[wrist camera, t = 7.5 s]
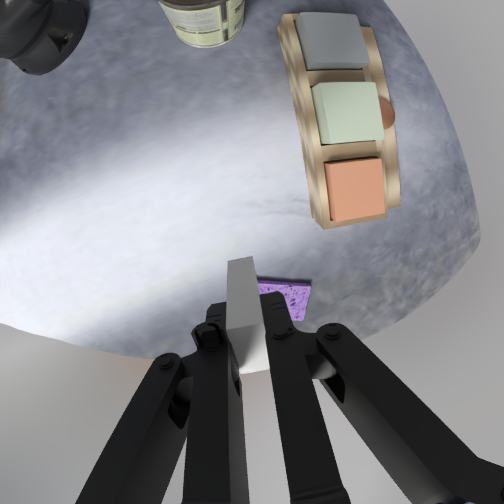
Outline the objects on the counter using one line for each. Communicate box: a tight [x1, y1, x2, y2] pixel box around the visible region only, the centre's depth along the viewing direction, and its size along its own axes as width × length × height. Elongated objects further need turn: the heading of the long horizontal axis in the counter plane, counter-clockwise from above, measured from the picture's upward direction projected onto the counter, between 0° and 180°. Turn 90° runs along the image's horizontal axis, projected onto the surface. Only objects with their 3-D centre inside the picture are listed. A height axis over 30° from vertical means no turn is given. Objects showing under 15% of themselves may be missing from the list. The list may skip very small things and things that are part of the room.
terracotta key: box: [323, 157, 385, 222], centre depth 35 cm, size 7×7×5 cm
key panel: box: [277, 14, 400, 230], centre depth 32 cm, size 30×15×6 cm, turn 11°
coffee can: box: [158, 0, 245, 48], centre depth 22 cm, size 10×10×14 cm
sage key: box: [310, 82, 385, 144], centre depth 29 cm, size 7×7×5 cm
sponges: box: [257, 280, 311, 320], centre depth 46 cm, size 7×13×2 cm, turn 83°
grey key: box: [294, 12, 371, 71], centre depth 25 cm, size 7×7×5 cm
